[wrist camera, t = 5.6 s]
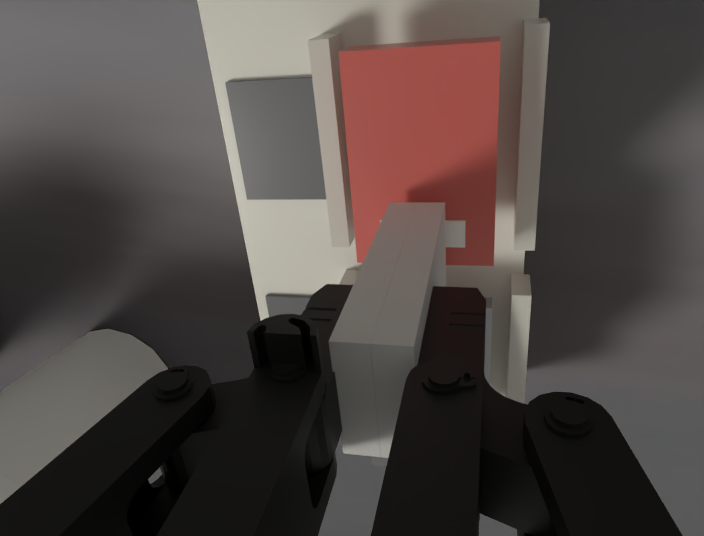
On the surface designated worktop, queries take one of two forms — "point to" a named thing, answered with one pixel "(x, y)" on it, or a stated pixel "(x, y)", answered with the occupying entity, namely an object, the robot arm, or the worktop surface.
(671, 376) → the worktop surface
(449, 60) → the plate
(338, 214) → the switch panel
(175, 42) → the worktop surface
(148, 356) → the foam cup
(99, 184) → the worktop surface
